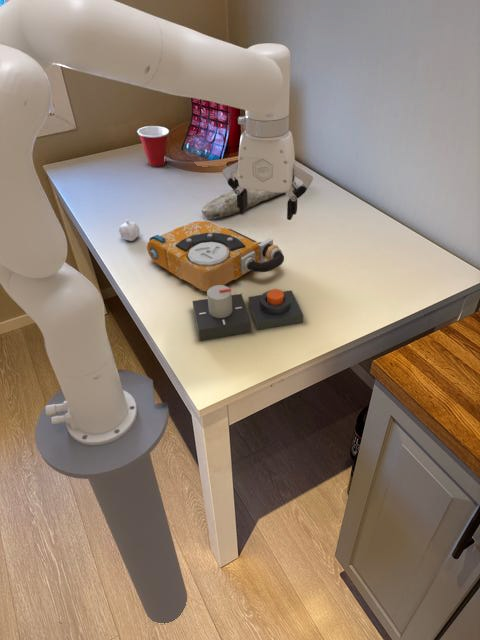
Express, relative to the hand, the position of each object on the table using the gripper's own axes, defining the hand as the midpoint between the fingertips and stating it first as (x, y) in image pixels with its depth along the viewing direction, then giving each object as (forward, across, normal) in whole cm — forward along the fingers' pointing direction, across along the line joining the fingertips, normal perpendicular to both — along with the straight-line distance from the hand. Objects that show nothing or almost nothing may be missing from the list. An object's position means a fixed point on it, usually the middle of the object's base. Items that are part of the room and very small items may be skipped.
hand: (266, 213), depth 96 cm
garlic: (+22, -44, +18) cm, 53 cm away
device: (+22, -16, +11) cm, 30 cm away
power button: (+19, +3, -3) cm, 19 cm away
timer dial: (+19, -8, -9) cm, 23 cm away
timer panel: (+22, -8, -9) cm, 25 cm away
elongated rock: (+22, -18, +48) cm, 56 cm away
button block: (+22, +3, -3) cm, 23 cm away
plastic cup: (+22, -60, +68) cm, 93 cm away
